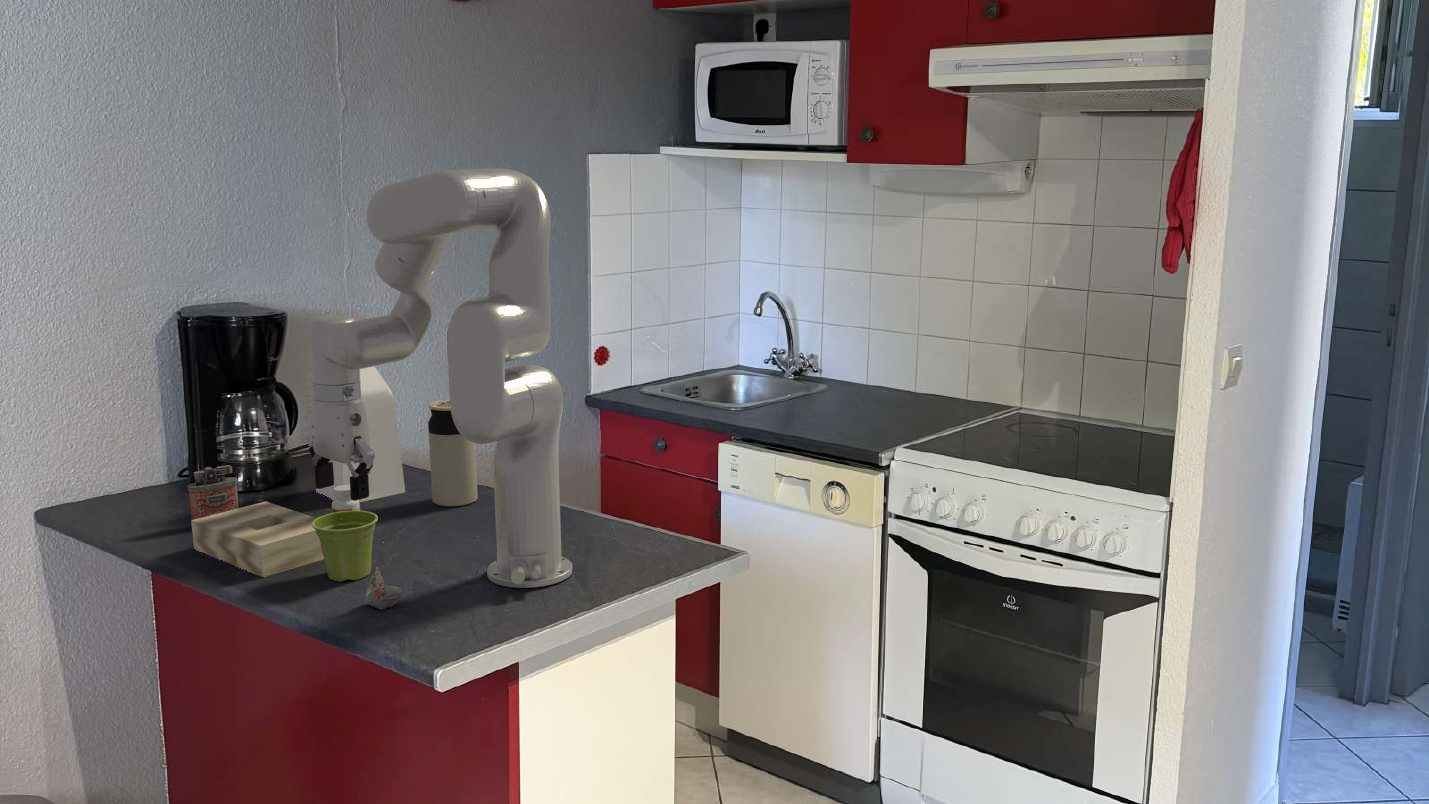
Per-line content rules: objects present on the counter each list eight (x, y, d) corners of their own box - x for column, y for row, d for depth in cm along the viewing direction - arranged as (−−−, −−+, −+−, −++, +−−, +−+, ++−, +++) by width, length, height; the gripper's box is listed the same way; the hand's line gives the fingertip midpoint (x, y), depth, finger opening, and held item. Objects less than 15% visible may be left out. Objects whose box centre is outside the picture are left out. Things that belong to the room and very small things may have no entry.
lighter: (195, 531, 205) (189, 474, 203) (188, 527, 208) (183, 469, 206) (244, 522, 210) (238, 465, 208) (237, 517, 213) (232, 461, 211)
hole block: (338, 554, 193) (336, 524, 192) (263, 577, 184) (260, 545, 182) (268, 530, 206) (265, 501, 205) (194, 550, 196) (191, 520, 195)
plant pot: (349, 590, 178) (344, 533, 176) (302, 579, 183) (298, 523, 181) (394, 570, 186) (391, 515, 184) (349, 560, 191) (345, 507, 189)
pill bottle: (328, 535, 203) (325, 490, 201) (342, 527, 207) (339, 483, 205) (352, 537, 202) (349, 492, 200) (366, 529, 206) (363, 484, 204)
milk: (344, 505, 220) (334, 361, 214) (316, 492, 228) (305, 353, 222) (405, 492, 227) (396, 353, 222) (375, 480, 236) (366, 346, 230)
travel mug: (486, 498, 223) (482, 401, 219) (456, 510, 216) (451, 410, 213) (453, 492, 227) (448, 397, 223) (423, 503, 220) (417, 405, 216)
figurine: (408, 598, 175) (398, 559, 173) (399, 611, 170) (389, 570, 169) (372, 603, 175) (362, 564, 174) (362, 616, 171) (352, 576, 169)
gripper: (388, 396, 197) (393, 498, 201) (325, 380, 208) (331, 478, 212) (348, 403, 191) (354, 508, 195) (286, 387, 202) (292, 487, 206)
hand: (342, 492), depth 203 cm, fingers open, 9 cm apart
